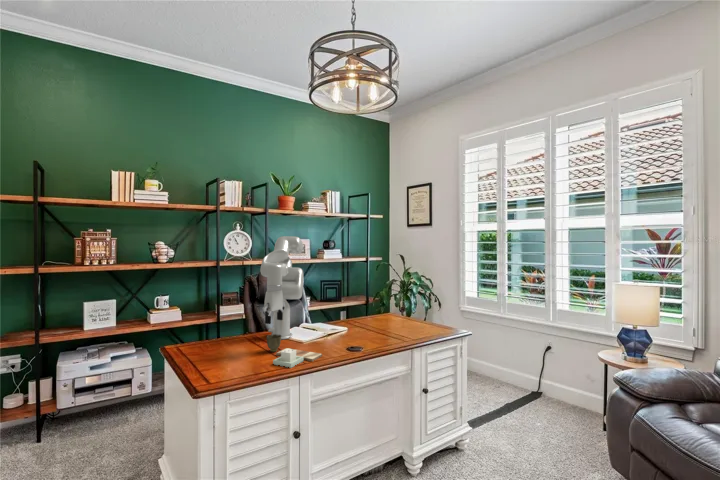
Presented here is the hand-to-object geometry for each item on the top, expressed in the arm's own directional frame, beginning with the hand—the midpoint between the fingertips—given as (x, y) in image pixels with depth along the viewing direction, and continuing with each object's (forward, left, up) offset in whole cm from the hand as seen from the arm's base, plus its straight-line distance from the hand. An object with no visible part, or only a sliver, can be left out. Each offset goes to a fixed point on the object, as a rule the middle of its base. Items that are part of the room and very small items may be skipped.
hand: (274, 321), depth 189 cm
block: (+17, -11, -15) cm, 25 cm away
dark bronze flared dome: (0, 0, -15) cm, 15 cm away
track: (+15, 0, -15) cm, 22 cm away
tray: (+17, -11, -15) cm, 25 cm away
